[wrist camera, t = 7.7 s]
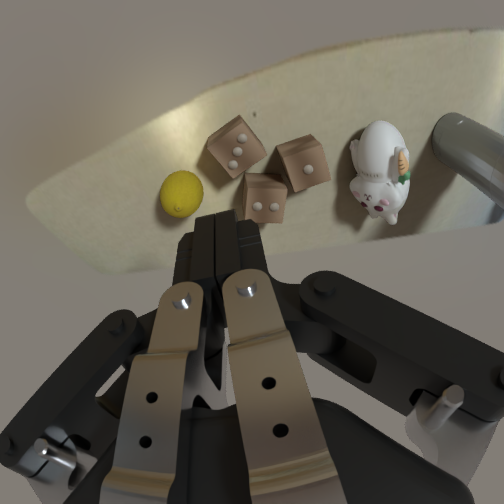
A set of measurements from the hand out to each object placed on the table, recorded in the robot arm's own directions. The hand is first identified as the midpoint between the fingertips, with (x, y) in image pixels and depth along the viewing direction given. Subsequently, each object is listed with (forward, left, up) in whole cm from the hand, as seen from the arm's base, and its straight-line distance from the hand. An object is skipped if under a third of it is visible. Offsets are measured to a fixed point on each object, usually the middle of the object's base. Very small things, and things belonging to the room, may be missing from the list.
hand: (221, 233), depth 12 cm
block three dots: (-1, +5, -29) cm, 30 cm away
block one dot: (-9, +9, -29) cm, 32 cm away
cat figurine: (-20, +12, -29) cm, 37 cm away
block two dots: (-3, +13, -29) cm, 32 cm away
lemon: (+7, +9, -29) cm, 31 cm away
